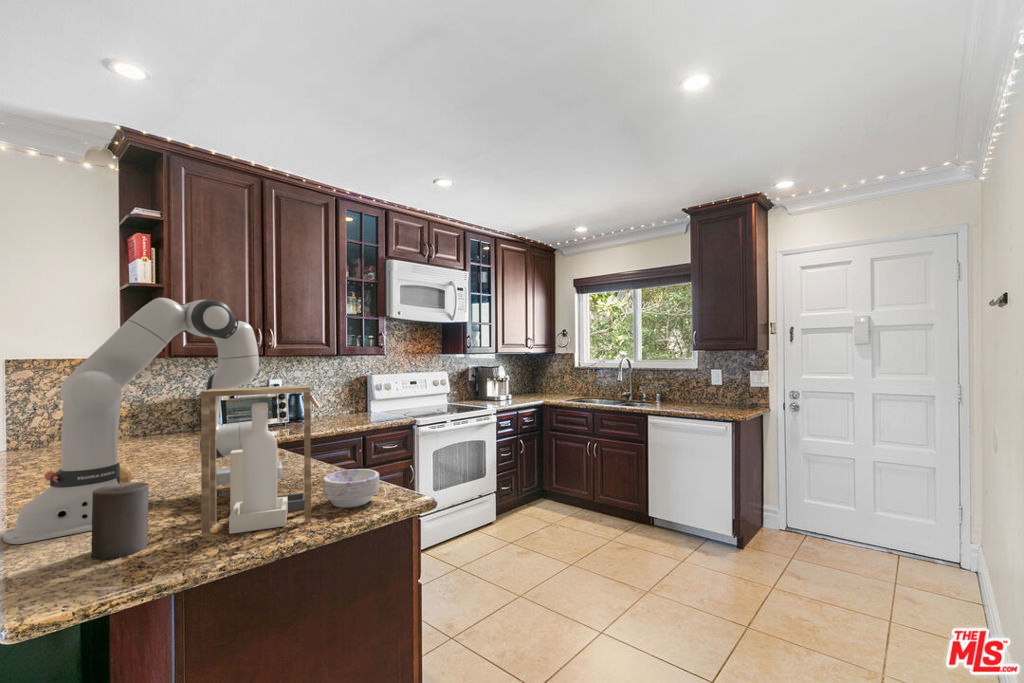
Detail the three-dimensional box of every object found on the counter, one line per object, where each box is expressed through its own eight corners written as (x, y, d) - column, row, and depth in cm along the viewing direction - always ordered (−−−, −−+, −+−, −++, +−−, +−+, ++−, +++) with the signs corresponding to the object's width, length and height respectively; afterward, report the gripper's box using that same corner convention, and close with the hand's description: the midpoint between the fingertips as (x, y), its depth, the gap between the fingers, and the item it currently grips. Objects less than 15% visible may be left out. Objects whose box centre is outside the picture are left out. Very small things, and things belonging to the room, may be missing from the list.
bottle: (271, 527, 118) (271, 404, 118) (237, 529, 116) (236, 405, 117) (281, 516, 125) (281, 401, 126) (249, 518, 124) (249, 402, 125)
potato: (104, 498, 145) (104, 471, 145) (81, 492, 151) (82, 467, 152) (141, 489, 154) (141, 464, 154) (118, 485, 160) (118, 460, 160)
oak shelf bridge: (209, 523, 121) (209, 389, 122) (310, 510, 130) (310, 385, 131) (201, 537, 112) (201, 391, 113) (311, 521, 121) (310, 387, 122)
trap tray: (253, 507, 133) (253, 498, 134) (306, 500, 139) (306, 492, 139) (249, 516, 126) (249, 506, 126) (305, 508, 131) (305, 499, 131)
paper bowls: (357, 513, 127) (357, 483, 127) (310, 508, 131) (310, 479, 132) (390, 497, 141) (389, 470, 141) (346, 493, 146) (346, 467, 146)
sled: (232, 508, 132) (232, 450, 132) (288, 501, 137) (288, 445, 138) (219, 535, 112) (219, 466, 113) (285, 525, 118) (285, 460, 118)
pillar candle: (82, 563, 98) (84, 489, 99) (101, 546, 107) (102, 478, 108) (140, 555, 102) (142, 484, 103) (153, 539, 111) (155, 473, 112)
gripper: (206, 463, 142) (196, 473, 129) (283, 456, 150) (281, 465, 137) (206, 484, 142) (196, 497, 129) (283, 476, 150) (281, 487, 137)
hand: (241, 480), depth 133 cm, fingers closed
